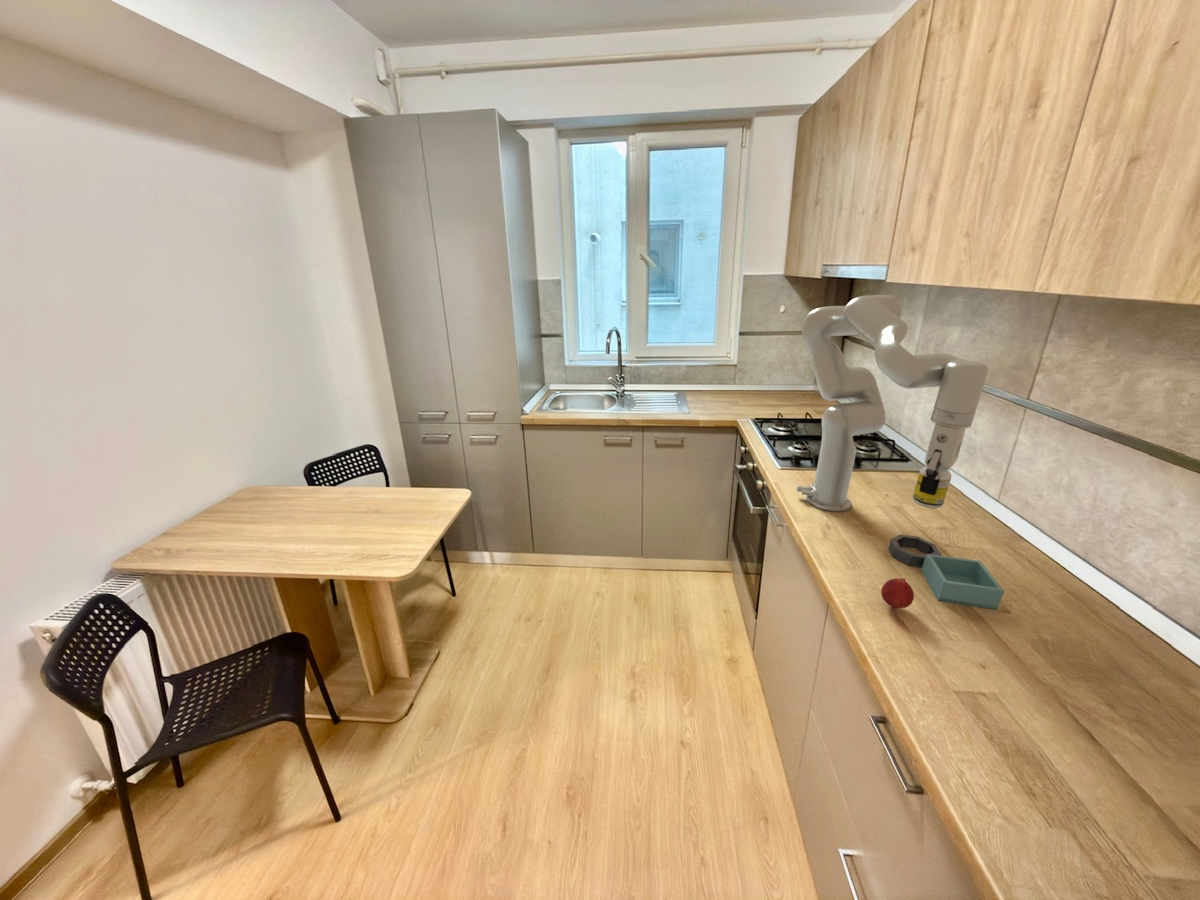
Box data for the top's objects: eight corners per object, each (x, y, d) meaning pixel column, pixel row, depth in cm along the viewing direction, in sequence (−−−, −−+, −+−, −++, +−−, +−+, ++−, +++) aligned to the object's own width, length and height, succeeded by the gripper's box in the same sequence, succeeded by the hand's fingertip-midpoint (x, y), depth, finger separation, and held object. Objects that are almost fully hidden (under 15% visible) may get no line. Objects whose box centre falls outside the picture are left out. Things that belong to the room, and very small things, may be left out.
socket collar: (896, 564, 115) (898, 554, 114) (885, 542, 124) (887, 532, 123) (942, 570, 113) (945, 560, 111) (928, 548, 122) (931, 538, 120)
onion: (880, 612, 99) (888, 582, 96) (876, 596, 104) (884, 566, 101) (911, 619, 97) (921, 588, 94) (906, 602, 102) (915, 572, 99)
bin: (937, 600, 103) (944, 582, 101) (921, 571, 113) (926, 553, 111) (996, 610, 100) (1004, 590, 98) (974, 578, 110) (980, 561, 108)
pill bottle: (912, 494, 117) (923, 454, 113) (942, 501, 114) (955, 459, 109) (910, 504, 112) (922, 462, 108) (942, 511, 109) (955, 468, 105)
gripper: (964, 430, 97) (940, 506, 103) (980, 411, 108) (958, 481, 114) (922, 421, 102) (902, 494, 108) (942, 405, 113) (922, 472, 119)
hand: (931, 487), depth 111 cm, fingers closed on pill bottle, 6 cm apart
